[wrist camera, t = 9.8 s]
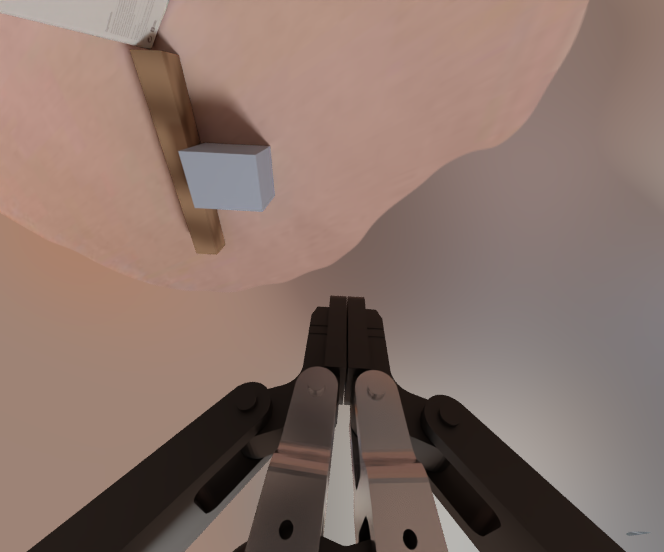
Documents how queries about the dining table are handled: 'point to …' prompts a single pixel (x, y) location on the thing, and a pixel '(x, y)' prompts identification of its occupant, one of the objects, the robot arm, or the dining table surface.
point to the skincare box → (96, 17)
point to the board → (176, 137)
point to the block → (229, 176)
